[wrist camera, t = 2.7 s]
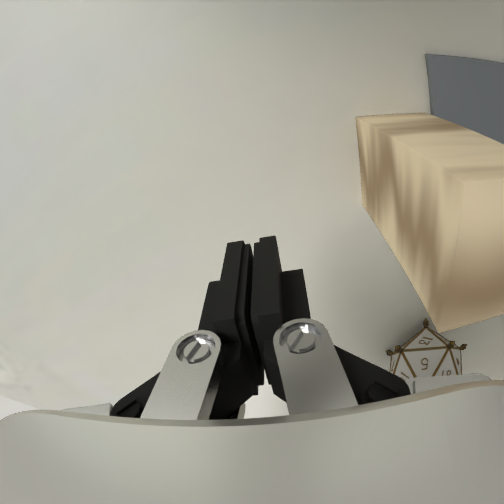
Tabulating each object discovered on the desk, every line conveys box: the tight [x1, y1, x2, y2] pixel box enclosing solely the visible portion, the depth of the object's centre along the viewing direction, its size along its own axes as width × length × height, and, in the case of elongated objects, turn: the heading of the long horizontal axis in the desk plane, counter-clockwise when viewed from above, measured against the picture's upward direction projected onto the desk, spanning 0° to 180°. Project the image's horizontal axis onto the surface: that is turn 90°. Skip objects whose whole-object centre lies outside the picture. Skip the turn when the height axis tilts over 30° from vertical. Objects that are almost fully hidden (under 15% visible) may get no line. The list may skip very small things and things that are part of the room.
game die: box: [386, 319, 467, 381], centre depth 24 cm, size 9×8×10 cm
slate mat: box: [425, 54, 504, 144], centre depth 18 cm, size 14×11×1 cm
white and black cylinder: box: [244, 369, 289, 419], centre depth 24 cm, size 7×7×10 cm
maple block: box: [355, 113, 504, 333], centre depth 14 cm, size 6×5×12 cm
